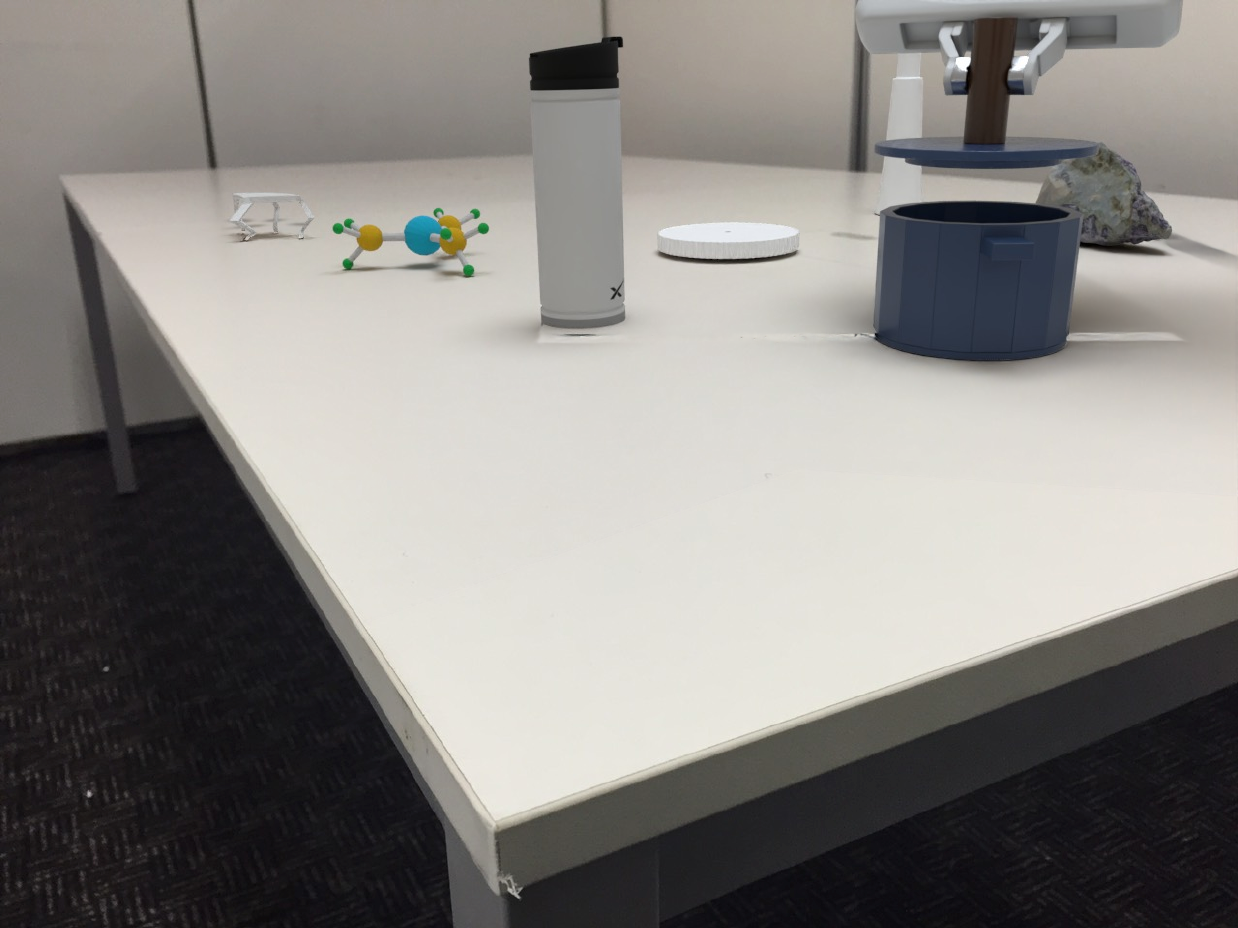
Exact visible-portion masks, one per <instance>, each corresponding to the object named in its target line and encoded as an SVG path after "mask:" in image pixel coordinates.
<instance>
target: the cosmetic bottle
mask: <svg viewBox="0 0 1238 928" xmlns="http://www.w3.org/2000/svg"><path fill="white" fill-rule="evenodd" d="M921 64H922V53H902V54H897V57H896V74H895V77H893V78H892V81H891V89H890V97H889V107H888V108H889V109H888V116H887V127H886V136H885V141H887V140H895V139H908V138H923V118H924V117H923V116H924V115H923V114H924V113H923V112H924V78H923V77H921ZM922 167H923V166H917V165H911V164H908V163H906V162H905V159H904V158H894V157H886V156H883V164H882V171H881V178H880V183H879V184H880V185H879V188H878V190H879V191H878V195H877V199H876V204H875V208H874V214H876V215H878V216H880V211H882V210H884V209H886V208H888V207H890V206H896V205H902V204H908V203H920V202H924V197H923V178H922V176H923V175H922V173H923V172H922V169H923V168H922Z"/></svg>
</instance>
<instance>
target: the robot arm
mask: <svg viewBox="0 0 1238 928" xmlns="http://www.w3.org/2000/svg"><path fill="white" fill-rule="evenodd" d="M1183 5H1184V0H857V3H856V5H855V9H854V18H855V25H856V29H857V33H858V37H859V39H860V42H861V44H862V45H863V47H864V48H865V50H866V51H867V52H868V53H869V54H872V55H896V54H897V55H898V54H902V53H921V54H936V53H937V54H938V53H940V54H941V61H942V62H943V65H944V67H945V70H944V72H943V77H942V85H943V91H944V95H945V96H967V94H968V83H969V71H970V60H971V56H966V53H971V49H972V38H973V27H974V19H976V18H991V17H1017V18H1018V23H1017V33H1016V43H1015V52H1020V51H1021V52H1023V51H1029V53H1028V54H1026V55H1016V56H1015V55H1014V57H1013V60H1012V62H1011V69H1010V70H1009V72H1008V79H1007V83H1008V86H1009V90H1008V93H1009V95H1010V96H1034V94H1035V93H1036V88H1037V86H1038V81H1039V79H1040V77H1042V76H1043V75H1045V74H1046V73H1047V72H1048V71H1049V70H1051V69H1052V68H1053V67H1054V66H1055V65H1056V64H1058V63H1059V62H1060V61H1061V60H1062V59H1063V58H1064V55H1065V52H1066V51H1068V50H1070V51H1071V50H1107V49H1109V50H1110V49H1155V48H1161V47H1163V46H1165V45H1166V44H1168V43H1169V42H1170V41H1172V40H1173V39H1174V38H1175V37H1177V36H1178V35H1179V32H1180V28H1181V22H1182V15H1183V13H1182V12H1183Z"/></svg>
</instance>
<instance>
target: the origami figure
mask: <svg viewBox="0 0 1238 928" xmlns="http://www.w3.org/2000/svg"><path fill="white" fill-rule="evenodd" d="M231 195H232V201H233V210H234V214H233V215H232V216H231V218H230V219H229V222H230V223H232V224H234V225H235V226H237V227H239V228H241V231H245V232H248V233H249V234H248V235H247V236H246V237H251V238H253V237H254V236H255V235H256V234H258V231H256V230H255V229H254V228H252V227H251V226H249V225H248V224H247V223H245V222H244V221H243V217H244V216H245V215H246V214H247V213H248V211H249V210H250V209H251V208H252V206H253V205H254V204H264V203H265V204H266V203H271V205H272V206H273V209H274V210H273V221H272V229H273V233H274V232H278V233H279V230H278V226H279V225H278V224H279V217H280V210H281V207H280V206H279V204H278V203H290V202H291V203H292V202H294V203H295V202H298V203H299V205H300V206H301V207H302V209H303V211H304V212H305V214H306V216H307V219H306V221H305V222H304V224H303V226H302V227H301V228H300V230H299V235H298V239H299V238H303V239H304V231H305V230H306V229H307V227H308V226H309V225H310V224H311V223H312V221H313V220H314V219H315V216H314V214H313V213H312V212H311V210H310V208H309V207H308V205H307V204H306V202H305V201H304V199H303V198H302V197H301V196H300V195H299V194H294V193H285V192H284V193H282V192H236V193H232V194H231ZM239 202H241V205H239ZM252 236H253V237H252Z"/></svg>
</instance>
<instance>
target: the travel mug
mask: <svg viewBox="0 0 1238 928" xmlns="http://www.w3.org/2000/svg"><path fill="white" fill-rule="evenodd" d="M619 48H622V49H623V48H624V38H623V37H622V36H621V35H620V36H605V37H604V36H603V37H602V38H601V41H599V42H593V43H585V44H579V45H572V46H565V47H564V46H563V47H558V48H552V49H546V50H540V51H535V52H534V51H533V52H530V53H529V57H528V68H529V71H528V72H529V76H530V80H529V89H530V90H529V98H530V99H531V100H530V103H529V106H530V107H529V109H530V124H531V125H530V126H531V127H530V128H531V147H532V164H533V165H532V166H533V168H532V169H533V186H534V205H535V206H534V207H535V226H536V246H537V247H536V248H537V264H538V265H537V266H538V281H539V282H538V285H539V302H540V305H541V306H540V325H541V326H543V325H546V326H549V327H553V328H559V329H573V330H575V329H577V330H578V329H579V330H580V329H581V330H582V329H596V328H604V327H610V326H614V325H618V324H620V323H622V322H624V321H625V320H626V305H625V300H626V298H625V296H626V295H625V294H626V293H625V291H626V290H625V256H624V255H625V254H624V253H625V251H624V250H625V249H624V209H623V208H624V206H623V165H622V163H623V161H622V159H623V158H622V122H621V121H622V120H621V119H622V117H621V99H619V96H620V95H621V88H620V78H619V77H618V74H619V71H620V68H619V67H620V65H619ZM563 335H564V336H565V335H566V336H593V335H594V333H580V334H579V333H571V334H570V333H563Z"/></svg>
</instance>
